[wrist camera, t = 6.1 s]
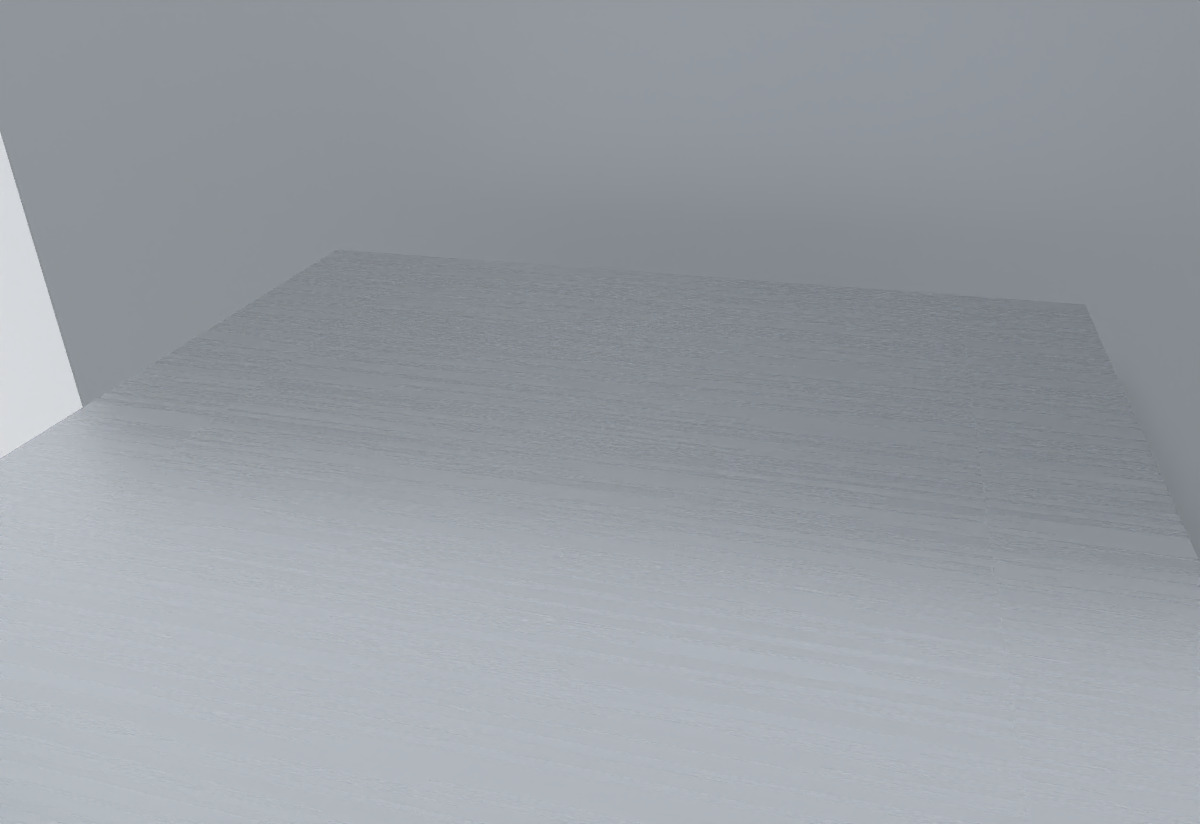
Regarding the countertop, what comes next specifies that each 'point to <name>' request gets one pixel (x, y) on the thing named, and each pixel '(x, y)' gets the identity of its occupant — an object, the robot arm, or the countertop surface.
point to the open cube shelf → (600, 564)
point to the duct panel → (619, 157)
